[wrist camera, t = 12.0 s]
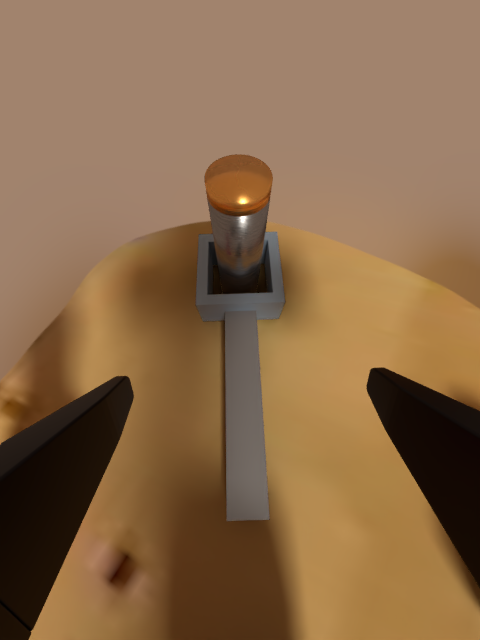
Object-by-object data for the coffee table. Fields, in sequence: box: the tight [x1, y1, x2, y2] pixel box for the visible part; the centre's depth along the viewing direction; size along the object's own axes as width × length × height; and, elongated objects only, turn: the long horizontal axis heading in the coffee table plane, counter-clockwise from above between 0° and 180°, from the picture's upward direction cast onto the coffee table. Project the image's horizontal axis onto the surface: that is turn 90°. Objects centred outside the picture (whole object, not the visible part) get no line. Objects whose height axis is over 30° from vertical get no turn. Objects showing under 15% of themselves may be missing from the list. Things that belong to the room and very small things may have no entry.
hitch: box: [196, 232, 285, 521], centre depth 21 cm, size 24×8×4 cm, turn 2°
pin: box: [205, 155, 273, 294], centre depth 19 cm, size 4×4×13 cm
